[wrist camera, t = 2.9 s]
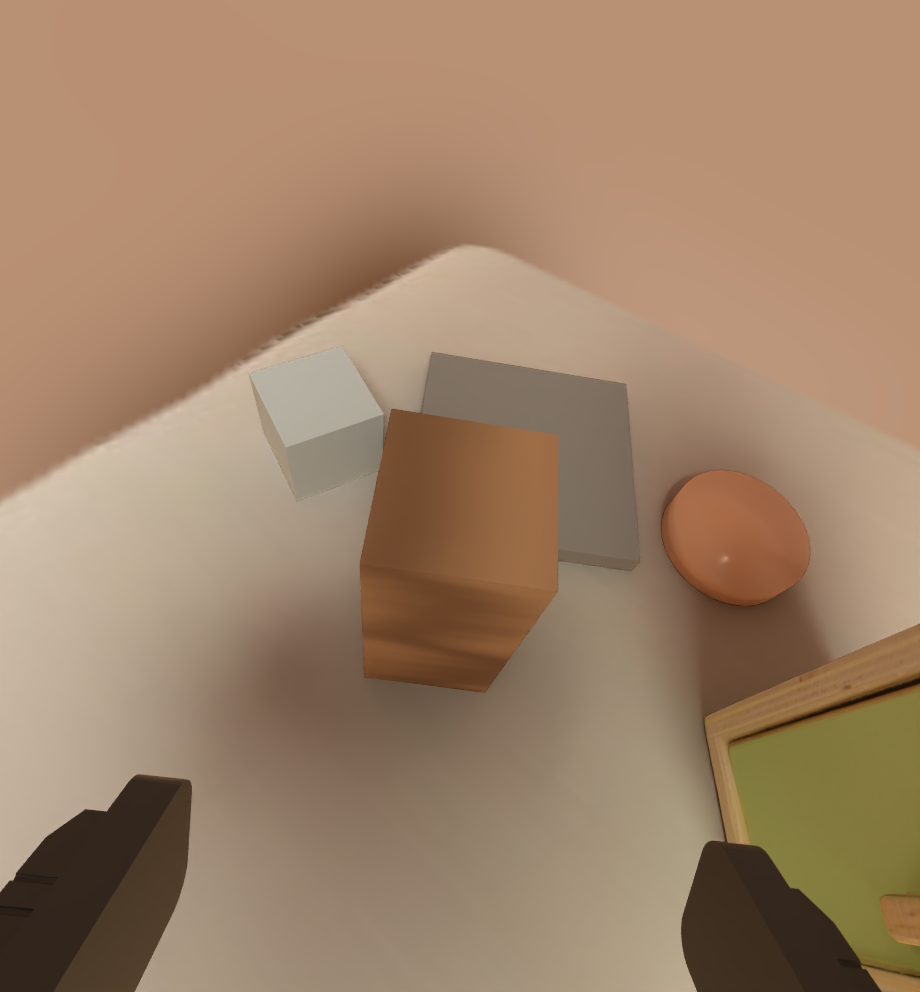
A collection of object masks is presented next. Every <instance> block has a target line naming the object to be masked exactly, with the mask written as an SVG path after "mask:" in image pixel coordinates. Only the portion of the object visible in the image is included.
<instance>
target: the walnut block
mask: <svg viewBox="0 0 920 992" xmlns="http://www.w3.org/2000/svg"><path fill="white" fill-rule="evenodd" d="M558 453H559V435H555V434H549V433H542V432H536V431H530V430H523V429H517V428H511V427H504V426H498V425H492V424H485V423H479V422H473V421H466V420H460V419H454V418H447V417H441V416H435V415H428V414H422V413H416V412H409V411H403V410H397V409H391V414H390V419H389V424H388V429H387V433H386V438H385V443H384V448H383V453H382V458H381V463H380V468H379V472H378V477H377V482H376V487H375V492H374V497H373V502H372V507H371V511H370V516H369V521H368V526H367V531H366V536H365V541H364V546H363V550H362V555H361V560H360V579H361V604H362V628H363V653H364V677H369V678H377V679H384V680H392V681H400V682H408V683H415V684H423V685H431V686H439V687H446V688H454V689H462V690H469V691H477V692H485V691H486V690H487V689H488V687H489V686H490V685H491V683H492V682H493V680H494V679H495V678H496V676H497V675H498V673H499V672H500V671H501V669H502V668H503V667H504V665H505V664H506V662H507V661H508V660H509V658H510V657H511V656H512V654H513V653H514V651H515V650H516V649H517V647H518V646H519V644H520V643H521V642H522V640H523V639H524V638H525V636H526V635H527V633H528V632H529V631H530V629H531V628H532V626H533V625H534V624H535V622H536V621H537V620H538V618H539V617H540V615H541V614H542V613H543V611H544V610H545V608H546V607H547V606H548V604H549V603H550V602H551V600H552V599H553V597H554V596H555V595H556V593H557V592H558Z"/></svg>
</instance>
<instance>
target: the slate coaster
mask: <svg viewBox="0 0 920 992" xmlns="http://www.w3.org/2000/svg"><path fill="white" fill-rule="evenodd" d="M422 414H428V415H435V416H441V417H447V418H454V419H460V420H466V421H473V422H479V423H485V424H492V425H498V426H504V427H511V428H517V429H523V430H530V431H536V432H542V433H549V434H555V435H559V453H558V560H559V561H566V562H573V563H580V564H587V565H593V566H600V567H607V568H614V569H621V570H628V571H631V570H632V569H633V568H634V567H635V566H636V565H637V564H638V563H639V562H640V554H639V541H638V528H637V515H636V503H635V490H634V477H633V465H632V452H631V439H630V426H629V414H628V401H627V388H626V384H623V383H617V382H611V381H605V380H599V379H593V378H587V377H580V376H574V375H568V374H562V373H556V372H550V371H544V370H538V369H532V368H526V367H520V366H514V365H508V364H502V363H496V362H490V361H484V360H478V359H471V358H465V357H459V356H453V355H447V354H441V353H435V352H432V354H431V360H430V366H429V372H428V378H427V384H426V390H425V396H424V402H423V408H422Z"/></svg>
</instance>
